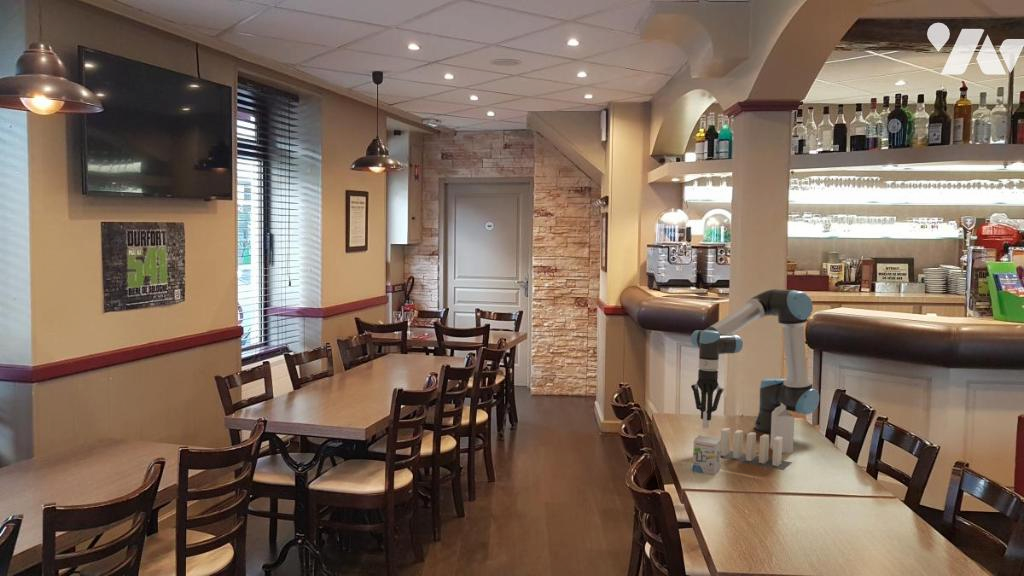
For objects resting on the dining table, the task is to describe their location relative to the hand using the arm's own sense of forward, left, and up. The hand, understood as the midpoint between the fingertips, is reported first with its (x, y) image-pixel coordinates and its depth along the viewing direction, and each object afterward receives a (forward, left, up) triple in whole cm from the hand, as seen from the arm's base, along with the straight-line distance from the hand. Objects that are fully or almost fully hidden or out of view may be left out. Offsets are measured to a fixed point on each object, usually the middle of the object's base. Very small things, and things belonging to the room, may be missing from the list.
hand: (705, 427), depth 290 cm
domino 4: (0, +28, -9) cm, 30 cm away
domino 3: (0, +23, -9) cm, 25 cm away
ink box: (+23, +9, -10) cm, 26 cm away
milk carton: (-21, +24, -10) cm, 34 cm away
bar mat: (0, +18, -10) cm, 21 cm away
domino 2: (0, +18, -9) cm, 20 cm away
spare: (0, +8, -9) cm, 12 cm away
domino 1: (0, +13, -9) cm, 16 cm away
